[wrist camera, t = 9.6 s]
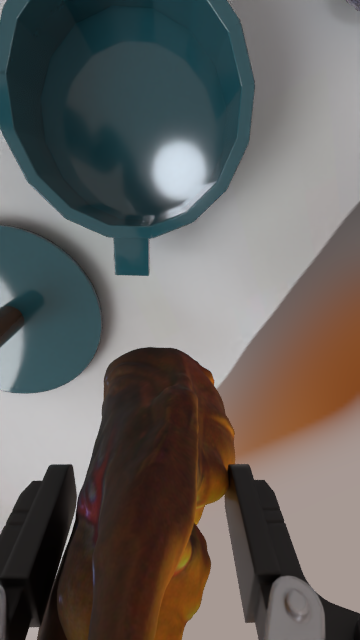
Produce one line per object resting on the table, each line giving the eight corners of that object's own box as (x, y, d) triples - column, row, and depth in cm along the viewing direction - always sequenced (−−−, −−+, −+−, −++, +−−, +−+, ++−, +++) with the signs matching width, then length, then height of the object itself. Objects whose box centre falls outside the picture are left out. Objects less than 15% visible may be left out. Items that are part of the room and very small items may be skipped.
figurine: (209, 432, 19) (302, 859, 7) (96, 423, 18) (-26, 892, 6) (234, 338, 16) (443, 741, 4) (104, 322, 15) (-70, 766, 4)
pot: (51, 259, 26) (23, 275, 21) (10, -73, 19) (-48, -170, 14) (222, 264, 27) (235, 280, 22) (250, -55, 19) (278, -142, 14)
